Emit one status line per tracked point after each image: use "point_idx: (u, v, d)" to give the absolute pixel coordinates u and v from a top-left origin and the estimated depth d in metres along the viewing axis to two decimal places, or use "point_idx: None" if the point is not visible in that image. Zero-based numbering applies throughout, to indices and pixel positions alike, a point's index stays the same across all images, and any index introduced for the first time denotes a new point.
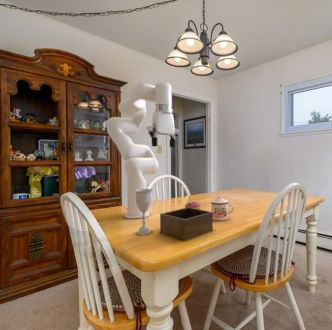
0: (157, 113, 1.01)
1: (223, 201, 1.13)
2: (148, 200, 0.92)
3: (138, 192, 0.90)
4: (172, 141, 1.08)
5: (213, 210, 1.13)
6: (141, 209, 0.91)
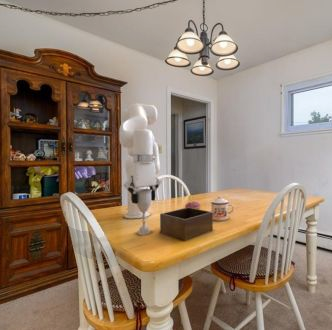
0: (135, 165, 0.89)
1: (223, 201, 1.13)
2: (148, 200, 0.92)
3: (138, 192, 0.90)
4: (152, 194, 0.96)
5: (213, 210, 1.13)
6: (141, 209, 0.91)
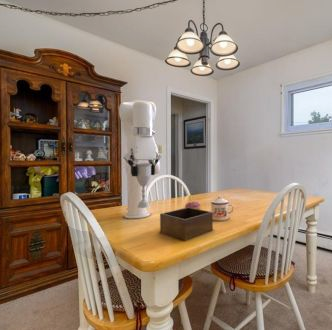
0: (135, 137, 0.88)
1: (223, 201, 1.13)
2: (148, 174, 0.92)
3: (138, 165, 0.90)
4: (152, 168, 0.96)
5: (213, 210, 1.13)
6: (141, 182, 0.92)
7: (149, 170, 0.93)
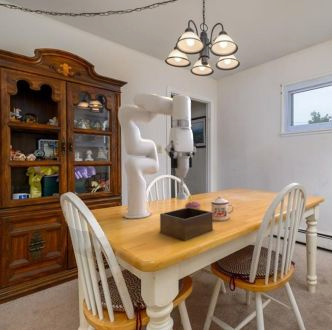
0: (175, 130, 0.90)
1: (223, 201, 1.13)
2: (187, 166, 0.93)
3: (178, 157, 0.91)
4: (189, 161, 0.97)
5: (213, 210, 1.13)
6: (180, 174, 0.93)
7: (188, 162, 0.94)
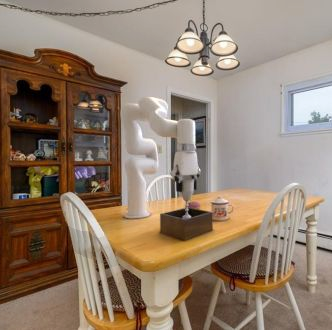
0: (180, 154, 0.90)
1: (223, 201, 1.13)
2: (191, 189, 0.93)
3: (183, 181, 0.91)
4: (194, 183, 0.97)
5: (213, 210, 1.13)
6: (185, 198, 0.93)
7: (192, 185, 0.94)
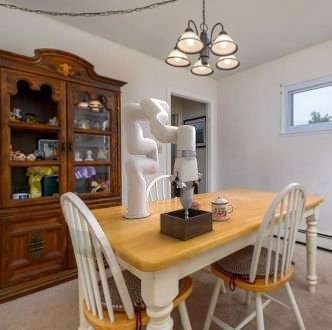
0: (180, 160, 0.90)
1: (223, 201, 1.13)
2: (191, 197, 0.94)
3: (182, 189, 0.92)
4: (195, 188, 0.98)
5: (213, 210, 1.13)
6: (185, 206, 0.93)
7: (192, 193, 0.94)
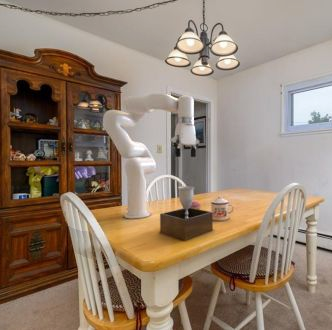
0: (180, 125, 1.06)
1: (223, 201, 1.13)
2: (191, 197, 0.94)
3: (182, 189, 0.92)
4: (193, 151, 1.13)
5: (213, 210, 1.13)
6: (185, 206, 0.93)
7: (192, 193, 0.94)
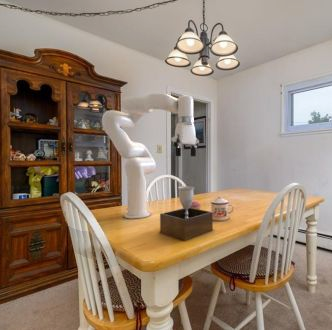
0: (181, 125, 1.06)
1: (223, 201, 1.13)
2: (191, 197, 0.94)
3: (182, 189, 0.92)
4: (193, 151, 1.14)
5: (213, 210, 1.13)
6: (185, 206, 0.93)
7: (192, 193, 0.94)
